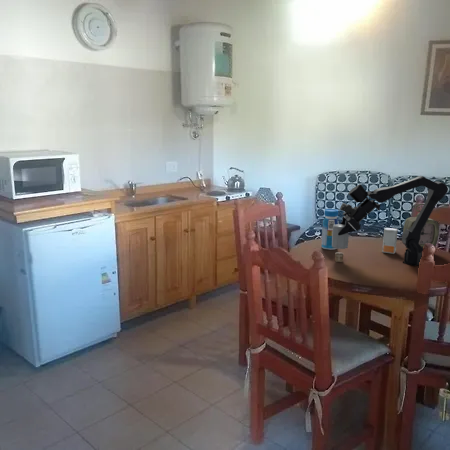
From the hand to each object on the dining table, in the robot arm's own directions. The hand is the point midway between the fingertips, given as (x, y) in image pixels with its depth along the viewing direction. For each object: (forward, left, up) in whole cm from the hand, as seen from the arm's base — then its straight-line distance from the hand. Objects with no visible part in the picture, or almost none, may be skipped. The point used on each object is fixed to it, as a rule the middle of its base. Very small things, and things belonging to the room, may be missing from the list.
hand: (337, 232), depth 214 cm
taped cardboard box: (-1, -1, -13) cm, 13 cm away
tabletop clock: (-14, -45, -14) cm, 49 cm away
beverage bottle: (+18, -16, -14) cm, 27 cm away
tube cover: (-1, -1, -7) cm, 7 cm away
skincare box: (-5, -34, -14) cm, 37 cm away
